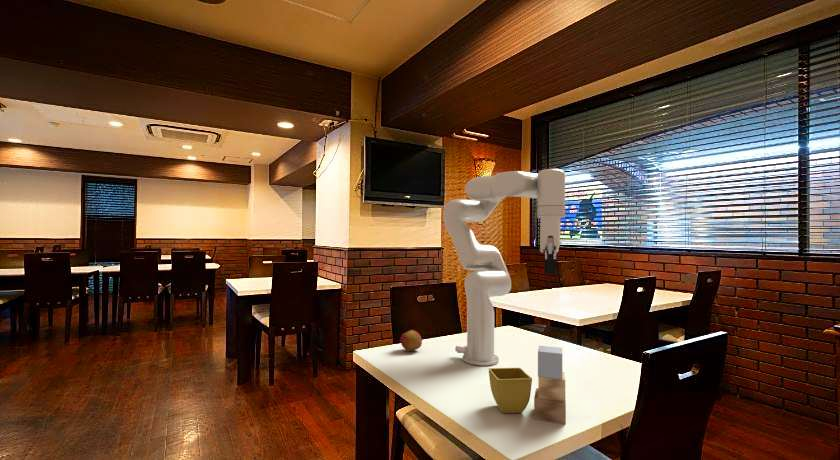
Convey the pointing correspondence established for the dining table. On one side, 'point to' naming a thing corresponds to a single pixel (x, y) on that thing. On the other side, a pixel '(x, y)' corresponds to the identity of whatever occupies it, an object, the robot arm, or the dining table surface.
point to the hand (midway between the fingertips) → (550, 272)
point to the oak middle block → (551, 388)
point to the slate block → (550, 362)
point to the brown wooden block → (549, 410)
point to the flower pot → (510, 388)
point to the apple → (411, 340)
